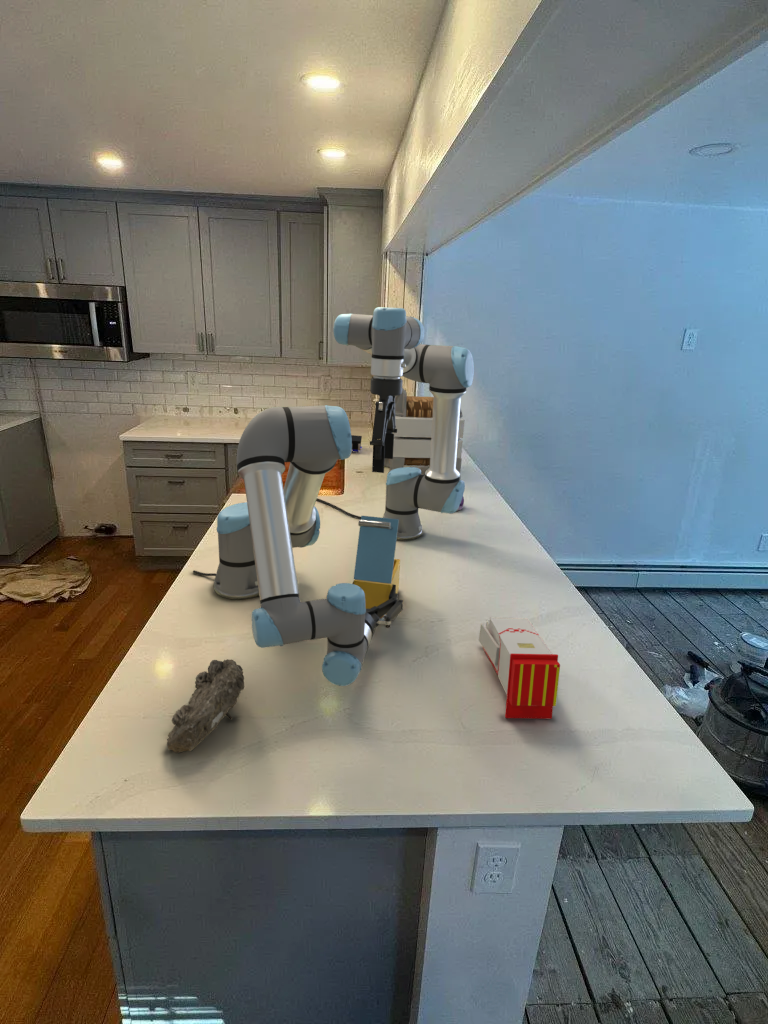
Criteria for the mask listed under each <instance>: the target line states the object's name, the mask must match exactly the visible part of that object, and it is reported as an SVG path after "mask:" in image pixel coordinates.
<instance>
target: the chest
mask: <svg viewBox="0 0 768 1024" xmlns="http://www.w3.org/2000/svg"><path fill="white" fill-rule="evenodd" d="M400 570H401V559H400V558H399V559H398V558H394V565H393V574H392V582H391V584H389V583H381V582H372V581H364V580H356V579H353V581H354V585H357V586H359V587H360V588H361V589H362V590H363V591H364V593H365V608H366V609H370V608H372V607H374V606H376V607H377V606H379V605H380V604H382V603H384V602H386V601H387V600H389V595H390V592H391V589H392V587H393V585H396V593H397V594H398V595H399V590H400V589H399V588H400ZM385 615H386V614H385ZM382 617H384V615H383V616H382ZM382 617H380V618H382Z"/></svg>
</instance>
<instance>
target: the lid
mask: <svg viewBox="0 0 768 1024" xmlns="http://www.w3.org/2000/svg"><path fill="white" fill-rule="evenodd" d="M360 517H361V519H359V518H358V524H357V526H358V527H359V531H358V539H357V549H356V556H355V563H354V564H355V565H354V572H353V580H355V579H356V580H364V581H372V582H381V583H389V584H391V582H392V574H393V565H394V559H395V556H396V547H397V540H396V539H397V531H398V522H399V520H398V519H390V518H383V517H380V516H369V515H361V516H360Z"/></svg>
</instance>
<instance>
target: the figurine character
mask: <svg viewBox="0 0 768 1024" xmlns="http://www.w3.org/2000/svg"><path fill="white" fill-rule="evenodd" d="M351 438H352V450H351V454H353V453H357V454H359V451H361V449H362V448H363V446H362V439H363V436H362V435H353V434H351Z"/></svg>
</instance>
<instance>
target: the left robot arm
mask: <svg viewBox="0 0 768 1024" xmlns="http://www.w3.org/2000/svg"><path fill="white" fill-rule="evenodd" d="M351 435H352V431H351V425H350V421H349V417H348V415H347V413H346V411H345V409H344V408H343V407H340V406H339V405H328V404H325V405H305V406H304V405H302V406H301V405H299V406H272V407H268V408H266V409H264V410H262V411H260V412H258V413H257V414H256V415H255V416H254V417H252V419H251V420H250V421H249V422H248V424H247V425H246V427H245V428H244V430H243V432H242V434H241V436H240V439H239V441H238V446H237V450H236V468H237V475H238V477H240V478H241V479H242V480H243V483H244V491H245V497H246V502H238V503H234V504H231V505H228V506H226V507H224V508H223V509H221V510H220V511H219V513H218V514H217V517H216V521H217V522H216V533H217V541H218V543H217V544H218V545H217V546H218V557H219V558H218V561H219V562H218V565H217V570H216V573H213V572H212V573H209V572H208V573H207V572H206V573H205V572H201V571H198V570H192V573H193V574H197V575H200V576H204V577H214V580H213V591H214V593H215V594H217V595H218V596H219V597H221V598H226V599H229V600H247V599H253V598H256V597H259V602H260V603H259V604H260V607H258V608H255V609H253V610H252V611H251V616H250V617H251V630H252V637H253V640H254V643H255V644H256V646H257V647H259V648H262V649H266V648H273V647H283V646H286V645H291V644H297V643H301V642H307V641H313V640H320V639H326V641H327V642H326V647H327V648H326V654H325V655H324V657H323V661H322V664H321V671H322V674H323V677H324V678H325V679H326V680H327V681H328V682H329V683H331V684H332V685H334V686H339V687H347V686H350V685H352V684H353V683H354V682H355V681H356V680H357V678H358V677H359V674H360V673H361V671H362V667H363V664H364V660H365V659H366V656H367V652H368V649H369V646H370V644H371V641H372V639H373V635H374V633H375V630H376V628H377V627H379V625H384V627H385V629H390V628H391V625H392V622H394V620H395V619H396V618H397V617H398V615H400V613H401V612H403V610H404V609H403V608H404V600H403V599H399V593H398V594H397V593H396V585H393V587H392V589H391V592H390V595H389V600H387V601H386V602H384V603H382V604H380V605H379V606H377V607H376V606H374V607H372V608H370V609H366V608H365V593H364V591H363V590H362V589H361V588H360V587H359V586H357V585H354V580H353V581H352V583H351V582H350V583H349V582H340V583H336V584H335V585H331V586H330V587H329V588H328V591H327V594H326V598H320V599H313V600H306V601H301V598H300V589H299V583H298V578H297V571H296V564H295V563H296V562H295V558H294V557H295V556H294V551H293V549H294V548H295V549H296V548H305V547H309V546H313V545H315V543H317V542H318V539H319V537H320V533H321V532H320V529H321V518H320V517H321V516H320V514H319V510H318V508H317V507H316V506H315V505H316V503H317V500H316V499H317V498H318V496H319V493H320V490H321V487H322V484H323V481H324V480H325V479H324V478H325V476H326V474H328V473H329V472H330V471H332V470H333V469H334V467H336V464H337V461H338V460H340V461H344V460H347V459H349V458H350V457H351V454H352V438H351ZM286 463H289V466H288V471H287V473H286V478H285V482H284V484H283V477H282V475H283V473H284V472H285V471H286ZM385 614H386V615H385ZM383 615H384V617H382V616H383ZM380 617H382V618H380Z"/></svg>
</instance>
